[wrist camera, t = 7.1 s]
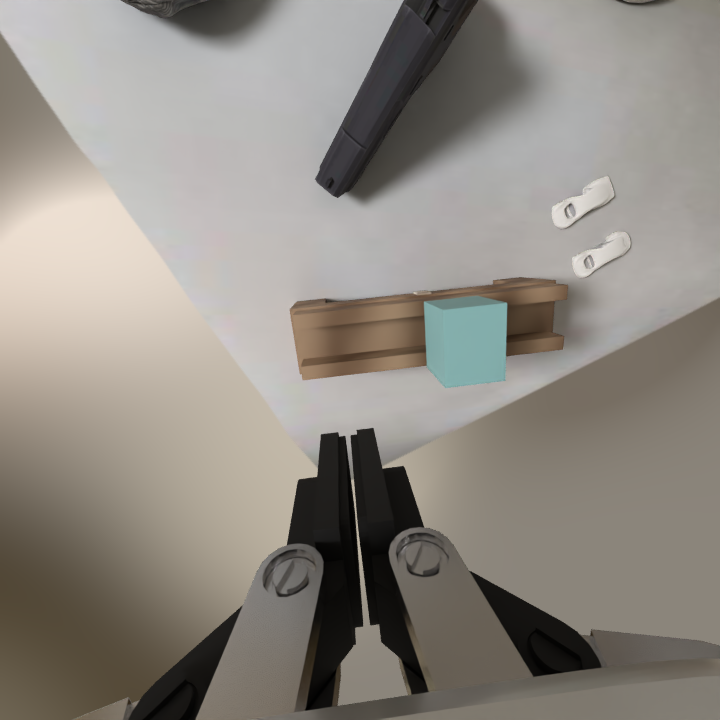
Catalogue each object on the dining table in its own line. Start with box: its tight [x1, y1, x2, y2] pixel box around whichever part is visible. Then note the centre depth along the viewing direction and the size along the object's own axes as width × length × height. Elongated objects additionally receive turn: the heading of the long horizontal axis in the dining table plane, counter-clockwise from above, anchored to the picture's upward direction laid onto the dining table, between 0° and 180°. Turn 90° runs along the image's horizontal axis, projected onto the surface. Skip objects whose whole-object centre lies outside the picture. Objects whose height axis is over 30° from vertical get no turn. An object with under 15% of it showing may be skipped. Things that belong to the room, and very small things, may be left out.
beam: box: [290, 277, 568, 380], centre depth 33 cm, size 24×6×8 cm, turn 96°
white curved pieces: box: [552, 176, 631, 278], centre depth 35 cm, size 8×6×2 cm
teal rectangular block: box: [424, 296, 507, 388], centre depth 27 cm, size 4×6×8 cm
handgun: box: [315, 0, 478, 198], centre depth 28 cm, size 4×16×12 cm
